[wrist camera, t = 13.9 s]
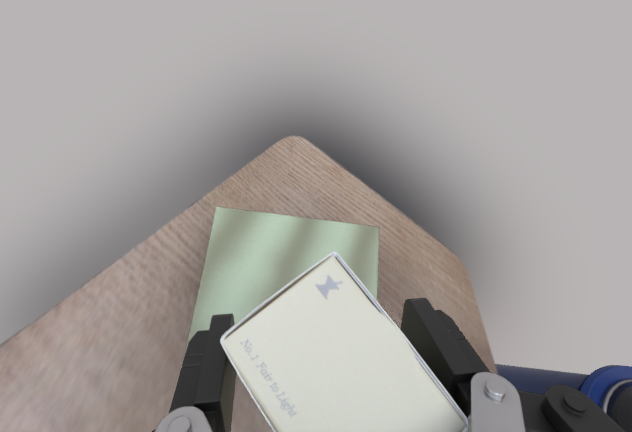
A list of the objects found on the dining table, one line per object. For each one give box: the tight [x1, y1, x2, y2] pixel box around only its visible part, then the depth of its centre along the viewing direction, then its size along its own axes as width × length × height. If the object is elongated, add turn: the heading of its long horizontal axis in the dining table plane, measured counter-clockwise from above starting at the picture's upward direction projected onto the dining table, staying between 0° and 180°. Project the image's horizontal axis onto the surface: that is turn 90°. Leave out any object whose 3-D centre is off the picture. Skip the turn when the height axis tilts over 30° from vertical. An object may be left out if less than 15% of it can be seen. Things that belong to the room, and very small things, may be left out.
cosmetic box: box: [220, 251, 468, 432], centre depth 15 cm, size 6×4×12 cm
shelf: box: [186, 207, 379, 350], centre depth 34 cm, size 16×13×7 cm
